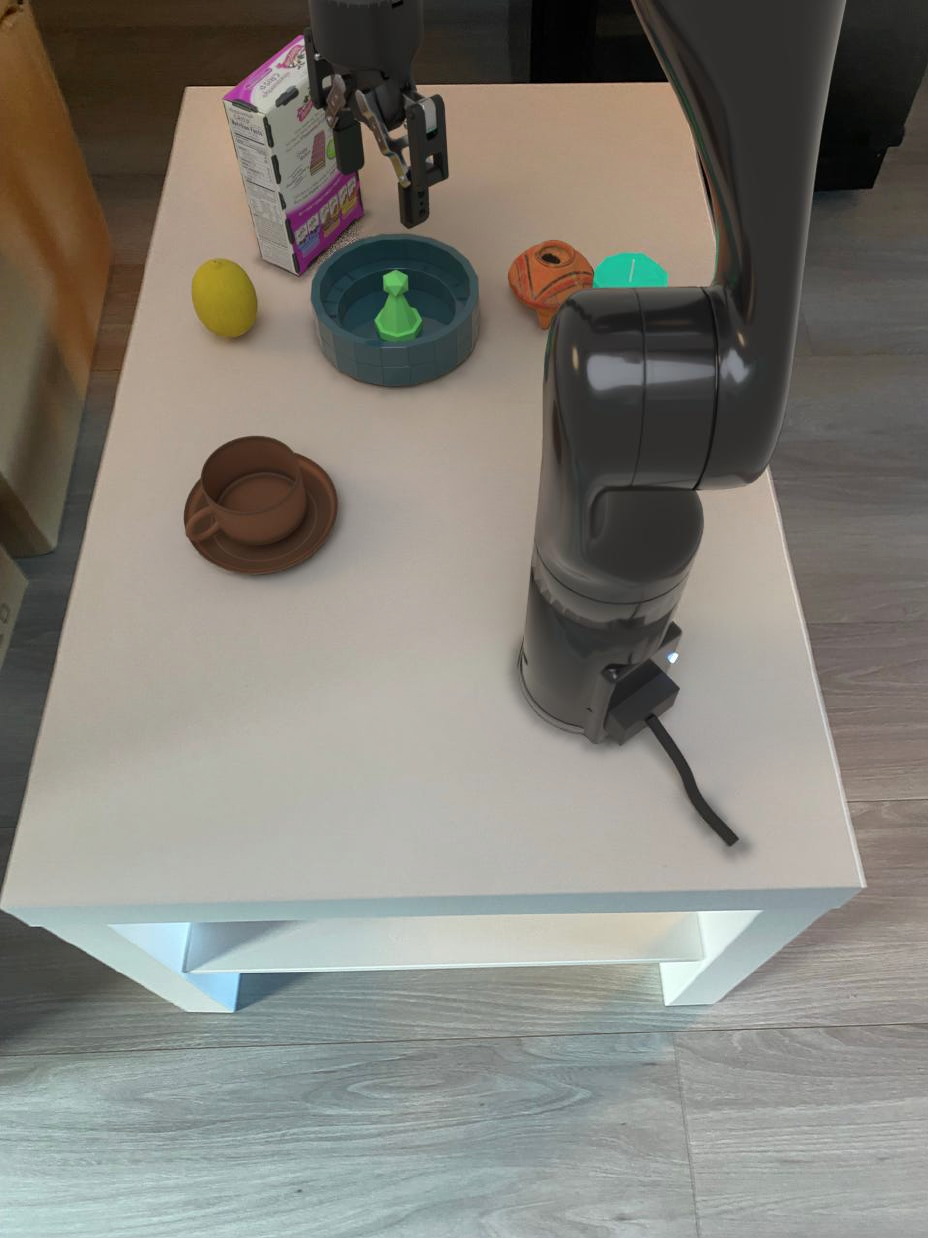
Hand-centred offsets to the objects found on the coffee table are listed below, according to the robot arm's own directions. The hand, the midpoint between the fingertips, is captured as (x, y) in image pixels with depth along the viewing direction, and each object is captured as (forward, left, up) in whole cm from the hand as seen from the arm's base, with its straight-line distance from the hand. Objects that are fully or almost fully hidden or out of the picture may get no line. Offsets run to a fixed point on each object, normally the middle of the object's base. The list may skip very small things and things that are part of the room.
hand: (382, 196), depth 75 cm
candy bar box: (+16, -1, -14) cm, 21 cm away
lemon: (+9, +12, -14) cm, 20 cm away
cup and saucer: (-11, +21, -14) cm, 27 cm away
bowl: (0, 0, -14) cm, 14 cm away
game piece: (0, -1, -14) cm, 14 cm away
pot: (-6, -13, -14) cm, 20 cm away
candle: (-16, -12, -14) cm, 25 cm away
